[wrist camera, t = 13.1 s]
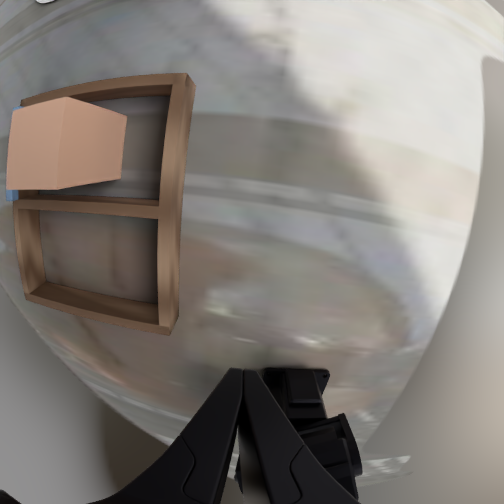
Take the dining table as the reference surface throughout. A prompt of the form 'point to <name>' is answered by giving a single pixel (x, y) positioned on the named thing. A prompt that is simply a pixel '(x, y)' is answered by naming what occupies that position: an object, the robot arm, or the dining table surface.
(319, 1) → the dining table surface
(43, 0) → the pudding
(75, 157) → the plug block
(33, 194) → the frame
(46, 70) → the dining table surface
